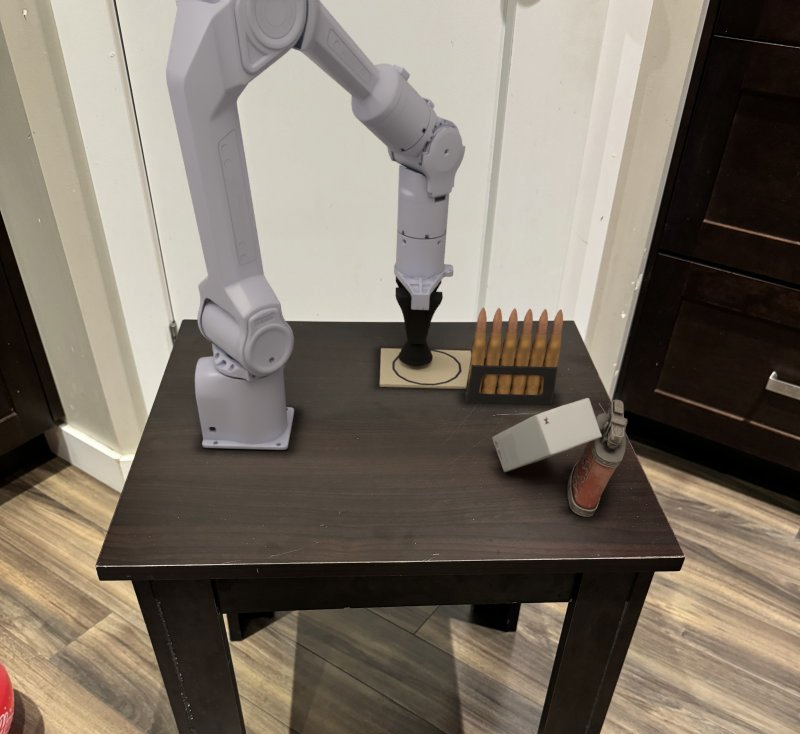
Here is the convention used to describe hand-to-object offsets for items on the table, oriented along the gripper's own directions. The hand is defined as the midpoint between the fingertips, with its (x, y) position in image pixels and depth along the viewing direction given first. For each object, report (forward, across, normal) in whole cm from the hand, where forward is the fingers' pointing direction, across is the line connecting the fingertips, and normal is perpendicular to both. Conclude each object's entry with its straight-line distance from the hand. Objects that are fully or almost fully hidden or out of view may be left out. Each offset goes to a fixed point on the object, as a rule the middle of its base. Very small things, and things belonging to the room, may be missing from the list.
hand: (415, 337), depth 97 cm
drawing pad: (+4, -1, -2) cm, 4 cm away
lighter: (+4, -26, -18) cm, 31 cm away
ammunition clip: (+4, -8, -12) cm, 14 cm away
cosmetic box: (+2, -20, -11) cm, 23 cm away
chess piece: (+3, 0, 0) cm, 3 cm away
